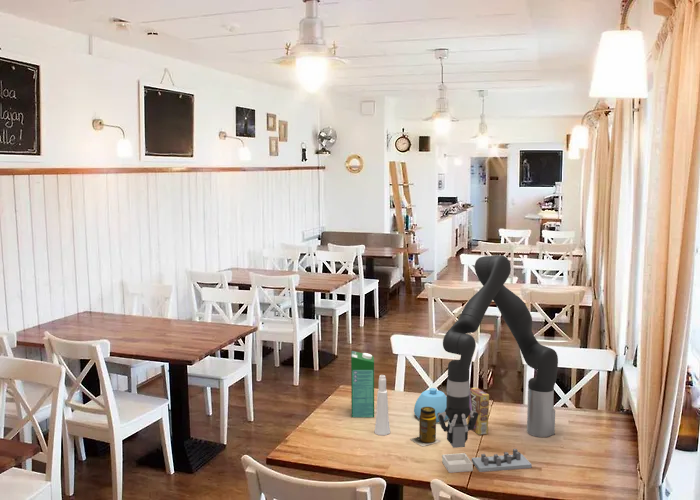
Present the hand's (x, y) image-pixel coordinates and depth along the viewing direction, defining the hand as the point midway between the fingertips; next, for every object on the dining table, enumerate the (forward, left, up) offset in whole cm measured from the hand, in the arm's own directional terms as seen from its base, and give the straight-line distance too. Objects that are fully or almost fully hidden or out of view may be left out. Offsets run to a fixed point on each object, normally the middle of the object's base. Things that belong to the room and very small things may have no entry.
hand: (457, 441), depth 222 cm
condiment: (+5, -22, -9) cm, 24 cm away
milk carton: (+23, -52, -9) cm, 57 cm away
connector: (0, 0, -1) cm, 1 cm away
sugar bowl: (-4, -44, -9) cm, 45 cm away
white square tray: (0, 0, -9) cm, 9 cm away
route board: (-15, +1, -9) cm, 17 cm away
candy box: (-17, -28, -9) cm, 34 cm away
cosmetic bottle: (+19, -32, -9) cm, 38 cm away
